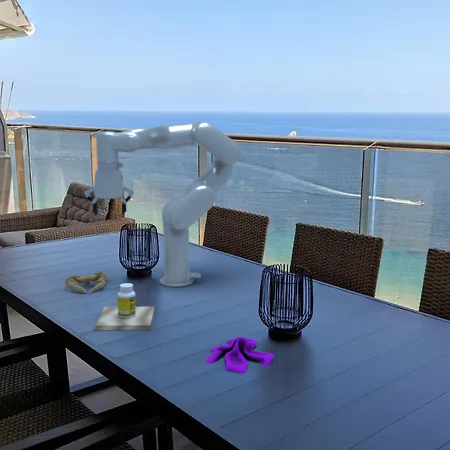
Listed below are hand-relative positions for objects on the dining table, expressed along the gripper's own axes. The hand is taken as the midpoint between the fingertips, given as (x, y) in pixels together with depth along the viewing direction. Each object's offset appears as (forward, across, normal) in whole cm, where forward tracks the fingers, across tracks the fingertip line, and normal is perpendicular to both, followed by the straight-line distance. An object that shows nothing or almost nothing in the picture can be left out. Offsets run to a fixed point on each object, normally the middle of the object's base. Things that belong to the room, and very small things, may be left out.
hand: (109, 214), depth 194 cm
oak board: (+27, -8, +34) cm, 44 cm away
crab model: (+28, +9, +1) cm, 29 cm away
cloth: (+28, -38, +63) cm, 79 cm away
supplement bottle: (+26, -8, +34) cm, 44 cm away
